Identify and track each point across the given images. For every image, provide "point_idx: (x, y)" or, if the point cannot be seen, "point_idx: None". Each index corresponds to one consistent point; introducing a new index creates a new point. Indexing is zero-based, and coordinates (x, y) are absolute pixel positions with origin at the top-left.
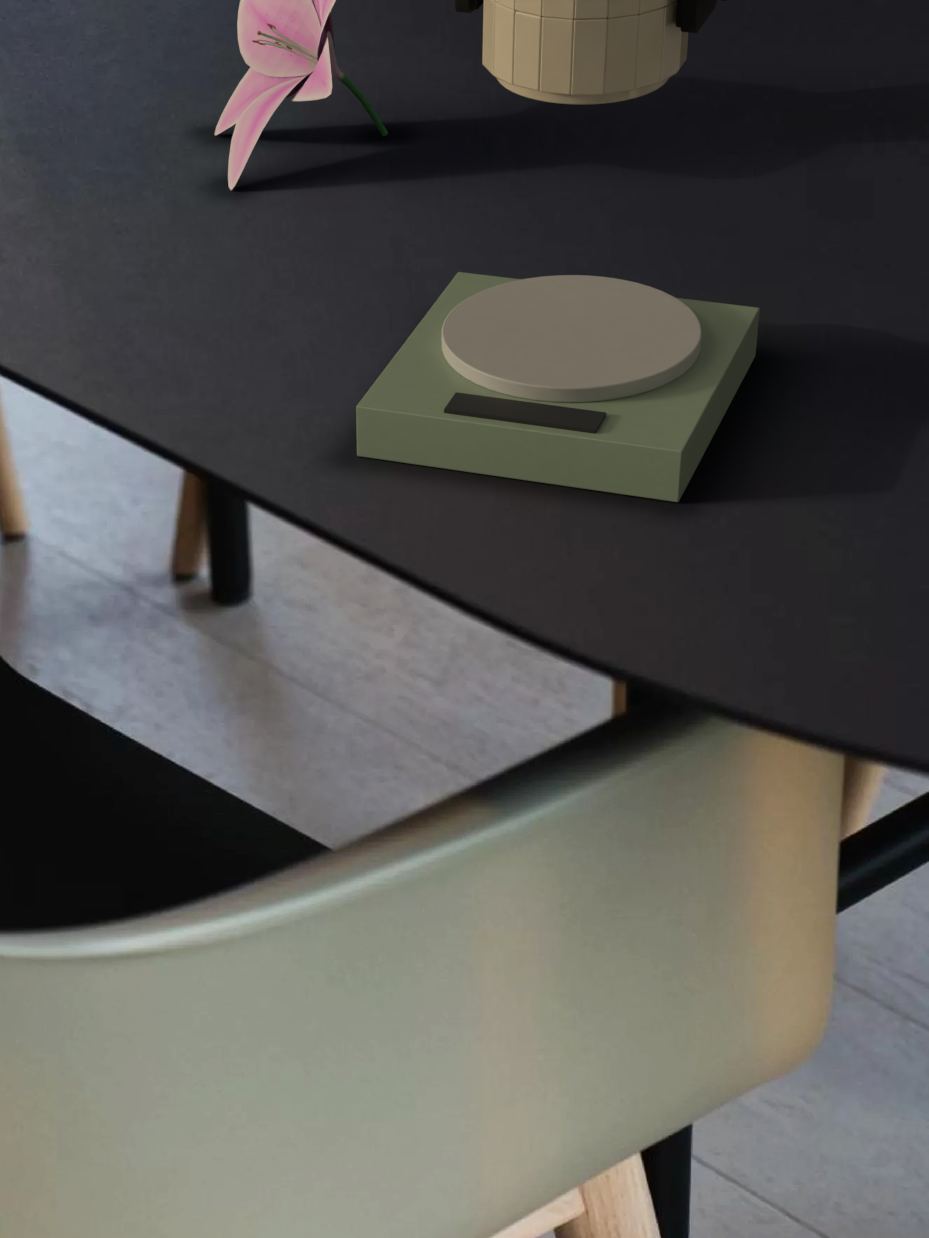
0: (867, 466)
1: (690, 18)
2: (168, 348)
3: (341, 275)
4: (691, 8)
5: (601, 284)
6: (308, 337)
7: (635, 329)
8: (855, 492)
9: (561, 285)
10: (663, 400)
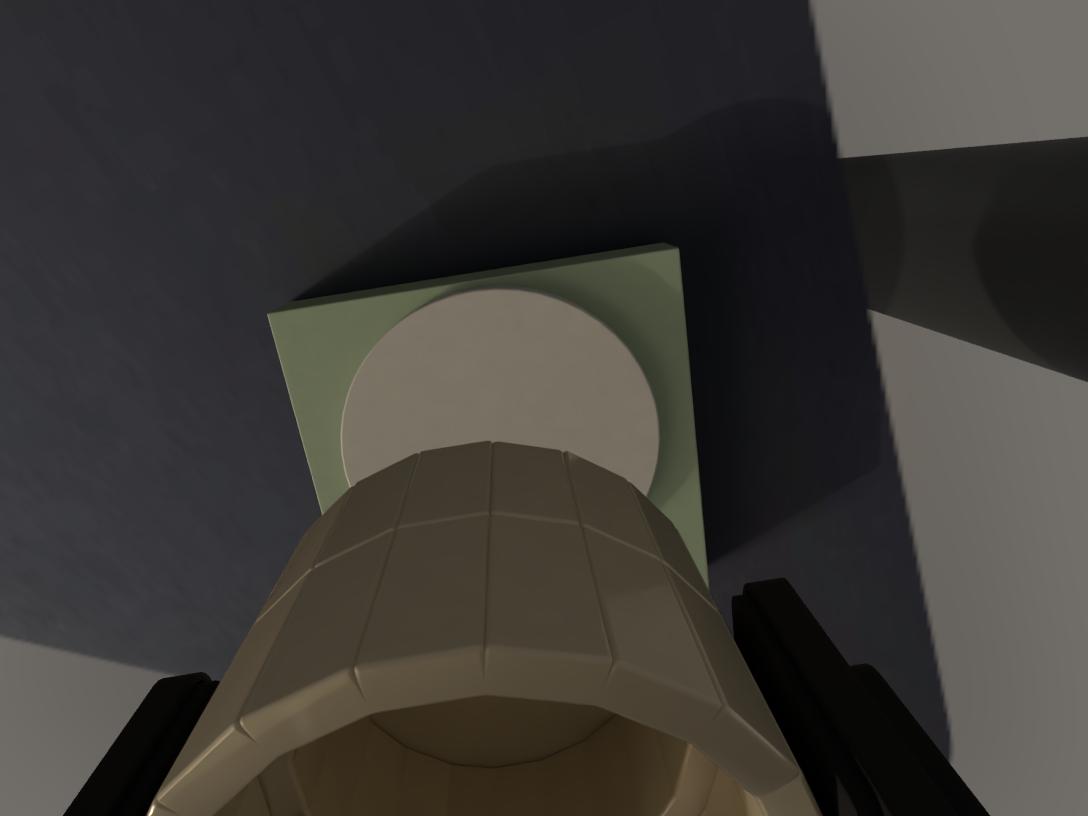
0: (846, 431)
1: None
2: (31, 513)
3: (70, 244)
4: None
5: (480, 316)
6: (155, 421)
7: (575, 418)
8: (846, 483)
9: (433, 341)
10: None
